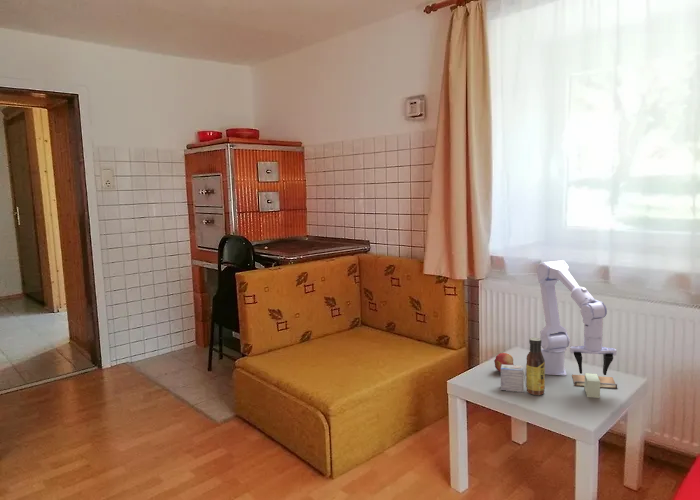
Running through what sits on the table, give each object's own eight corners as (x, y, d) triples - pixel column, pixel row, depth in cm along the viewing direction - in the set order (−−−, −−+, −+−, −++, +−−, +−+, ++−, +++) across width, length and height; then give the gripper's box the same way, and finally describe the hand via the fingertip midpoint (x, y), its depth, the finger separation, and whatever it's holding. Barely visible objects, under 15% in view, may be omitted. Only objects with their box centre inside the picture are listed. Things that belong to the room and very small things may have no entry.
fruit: (511, 378, 195) (511, 358, 194) (491, 374, 199) (491, 355, 198) (516, 371, 201) (516, 351, 200) (497, 368, 205) (496, 349, 204)
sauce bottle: (544, 397, 178) (545, 342, 175) (526, 395, 180) (526, 341, 177) (544, 389, 184) (544, 337, 181) (526, 387, 186) (526, 335, 183)
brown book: (574, 385, 185) (574, 381, 185) (571, 376, 194) (572, 372, 194) (617, 388, 181) (617, 384, 181) (612, 378, 190) (612, 374, 189)
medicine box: (523, 387, 186) (523, 365, 185) (523, 393, 182) (523, 370, 180) (501, 386, 188) (501, 363, 187) (500, 390, 184) (500, 368, 183)
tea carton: (587, 397, 176) (587, 380, 175) (584, 388, 183) (584, 373, 182) (600, 398, 175) (600, 381, 174) (596, 389, 181) (597, 373, 180)
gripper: (571, 338, 174) (571, 376, 176) (618, 340, 170) (617, 379, 172) (569, 332, 181) (569, 368, 183) (614, 334, 176) (613, 371, 178)
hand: (592, 373), depth 178 cm, fingers open, 7 cm apart
